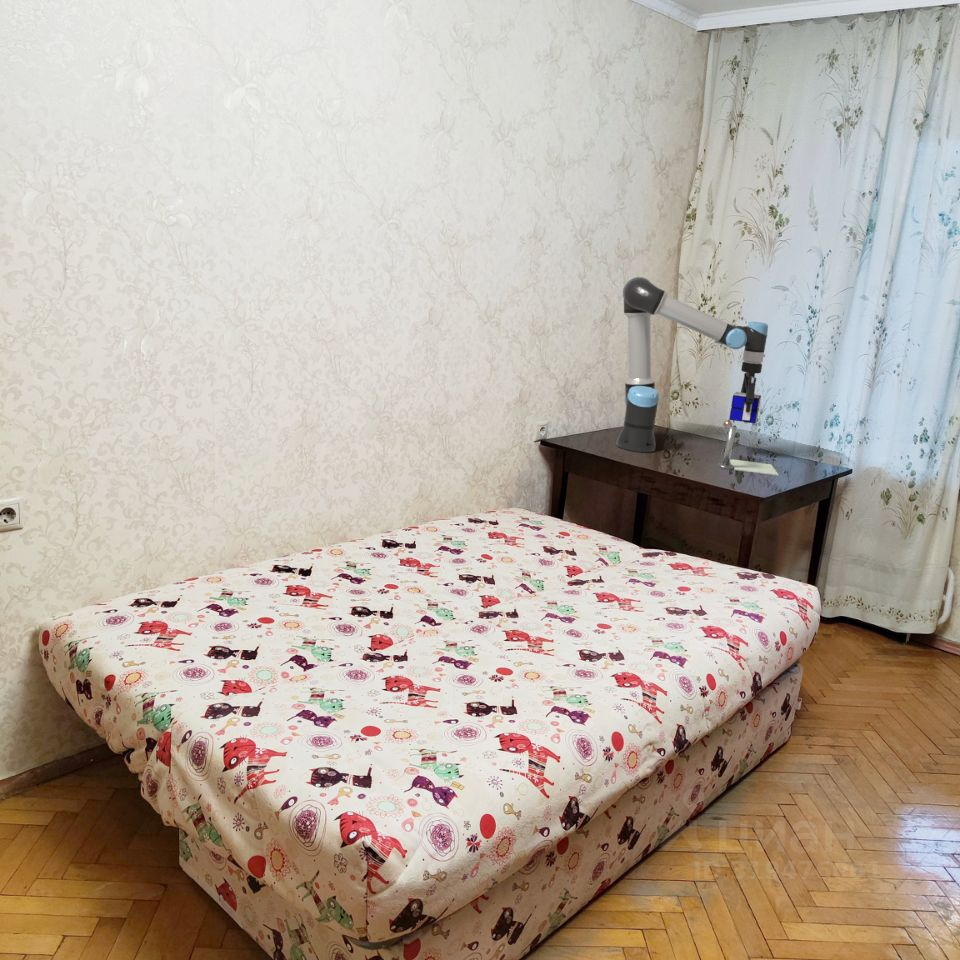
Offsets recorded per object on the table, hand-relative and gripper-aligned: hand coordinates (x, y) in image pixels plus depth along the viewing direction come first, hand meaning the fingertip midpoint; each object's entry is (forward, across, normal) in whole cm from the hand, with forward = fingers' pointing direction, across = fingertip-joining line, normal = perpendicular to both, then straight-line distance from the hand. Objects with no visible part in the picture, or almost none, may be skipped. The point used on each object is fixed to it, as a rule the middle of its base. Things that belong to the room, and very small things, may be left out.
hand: (743, 417), depth 354 cm
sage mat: (+15, -22, -3) cm, 27 cm away
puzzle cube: (+1, 0, 0) cm, 1 cm away
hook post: (+15, -22, +8) cm, 28 cm away
